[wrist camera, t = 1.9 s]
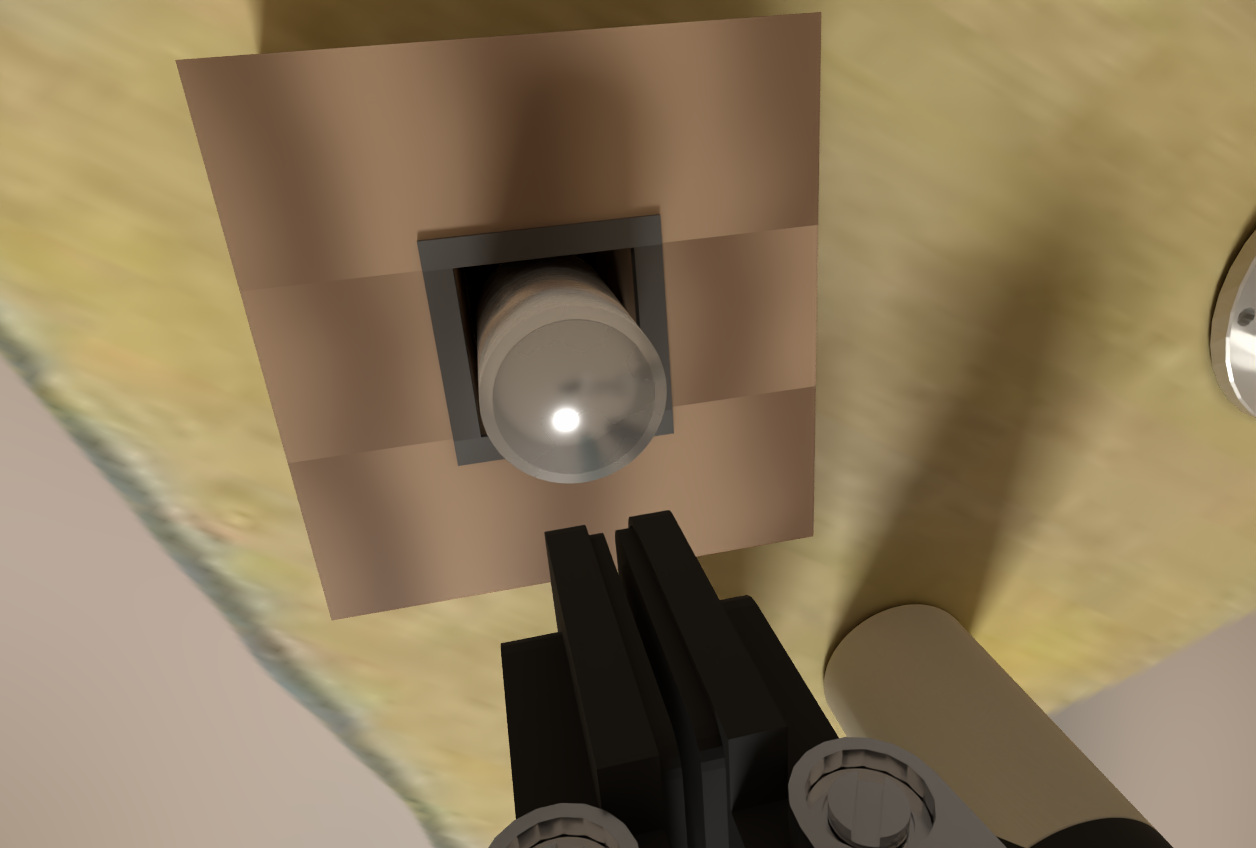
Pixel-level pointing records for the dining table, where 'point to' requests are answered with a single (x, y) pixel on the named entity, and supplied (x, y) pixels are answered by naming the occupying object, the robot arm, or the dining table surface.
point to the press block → (513, 231)
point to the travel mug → (976, 732)
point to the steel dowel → (564, 371)
